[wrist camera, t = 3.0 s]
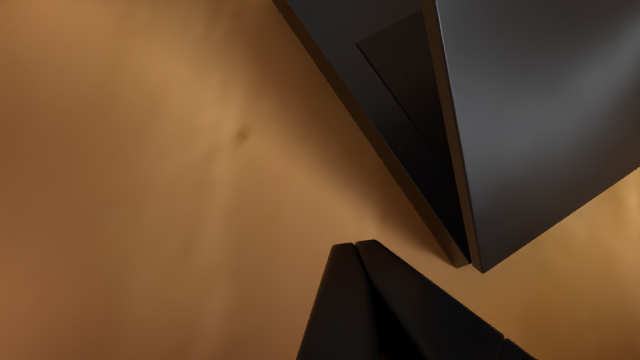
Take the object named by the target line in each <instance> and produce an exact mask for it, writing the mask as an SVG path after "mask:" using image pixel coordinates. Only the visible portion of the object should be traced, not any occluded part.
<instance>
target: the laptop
mask: <svg viewBox="0 0 640 360" xmlns="http://www.w3.org/2000/svg"><path fill="white" fill-rule="evenodd" d="M272 1H273V2H274V4H275V5H276V7H277V8H278V9H279V11H280V12H281V14H282V15H283V17H284V18H285V20H286V21H287V23H288V24H289V25H290V27H291V28H292V30H293V31H294V33H295V34H296V36H297V37H298V39H299V40H300V41H301V43H302V44H303V46H304V47H305V49H306V50H307V52H308V53H309V55H310V56H311V58H312V59H313V60H314V62H315V63H316V65H317V66H318V68H319V69H320V71H321V72H322V74H323V75H324V76H325V78H326V79H327V81H328V82H329V84H330V85H331V87H332V88H333V90H334V91H335V92H336V94H337V95H338V97H339V98H340V100H341V101H342V103H343V104H344V106H345V107H346V109H347V110H348V111H349V113H350V114H351V116H352V117H353V119H354V120H355V122H356V123H357V125H358V126H359V127H360V129H361V130H362V132H363V133H364V135H365V136H366V138H367V139H368V141H369V142H370V143H371V145H372V146H373V148H374V149H375V151H376V152H377V154H378V155H379V157H380V158H381V160H382V161H383V162H384V164H385V165H386V167H387V168H388V170H389V171H390V173H391V174H392V176H393V177H394V178H395V180H396V181H397V183H398V184H399V186H400V187H401V189H402V190H403V192H404V193H405V194H406V196H407V197H408V199H409V200H410V202H411V203H412V205H413V206H414V208H415V209H416V211H417V212H418V213H419V215H420V216H421V218H422V219H423V221H424V222H425V224H426V225H427V227H428V228H429V229H430V231H431V232H432V234H433V235H434V237H435V238H436V240H437V241H438V243H439V244H440V245H441V247H442V248H443V250H444V251H445V253H446V254H447V256H448V257H449V259H450V260H451V262H452V263H453V264H454V266H455V267H456V268H460V267H463V266H466V265H469V264H471V263H472V261H471V256H470V251H469V246H468V240H467V235H466V230H465V225H464V220H463V215H462V210H461V205H460V199H459V194H458V189H457V184H456V179H455V174H454V169H453V164H452V158H451V153H450V148H449V143H448V138H447V133H446V128H445V123H444V117H443V112H442V107H441V102H440V97H439V92H438V87H437V82H436V77H435V71H434V66H433V61H432V56H431V51H430V46H429V41H428V36H427V30H426V25H425V20H424V15H423V10H422V5H421V0H272Z"/></svg>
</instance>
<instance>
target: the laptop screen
mask: <svg viewBox="0 0 640 360" xmlns="http://www.w3.org/2000/svg"><path fill="white" fill-rule="evenodd" d="M421 5H422V10H423V15H424V20H425V25H426V30H427V36H428V41H429V46H430V51H431V56H432V61H433V66H434V71H435V77H436V82H437V87H438V92H439V97H440V102H441V107H442V112H443V117H444V123H445V128H446V133H447V138H448V143H449V148H450V153H451V158H452V164H453V169H454V174H455V179H456V184H457V189H458V194H459V199H460V205H461V210H462V215H463V220H464V225H465V230H466V235H467V240H468V246H469V251H470V256H471V261H472V265H473V266H474V267H475V268H476V269H477V270H479V271H480V272H481V273H483V274H484V273H486V272H487V271H488V270H490V269H491V268H493V267H494V266H496V265H497V264H499V263H500V262H502V261H503V260H504V259H506V258H507V257H509V256H510V255H512V254H513V253H515V252H516V251H518V250H519V249H521V248H522V247H523V246H525V245H526V244H528V243H529V242H531V241H532V240H534V239H535V238H537V237H538V236H539V235H541V234H542V233H544V232H545V231H547V230H548V229H550V228H551V227H553V226H554V225H556V224H557V223H558V222H560V221H561V220H563V219H564V218H566V217H567V216H569V215H570V214H572V213H573V212H574V211H576V210H577V209H579V208H580V207H582V206H583V205H585V204H586V203H588V202H589V201H591V200H592V199H593V198H595V197H596V196H598V195H599V194H601V193H602V192H604V191H605V190H607V189H608V188H609V187H611V186H612V185H614V184H615V183H617V182H618V181H620V180H621V179H623V178H624V177H626V176H627V175H628V174H630V173H631V172H633V171H634V170H636V169H637V168H639V167H640V0H421Z"/></svg>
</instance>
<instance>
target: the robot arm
mask: <svg viewBox="0 0 640 360" xmlns="http://www.w3.org/2000/svg"><path fill="white" fill-rule="evenodd" d="M504 339H505V336H504V335H503V334H502V333H500V332H499V331H498V330H496V329H495V328H494V327H492V326H491V325H490V324H488V323H487V322H486V321H484V320H483V319H482V318H480V317H479V316H477V315H476V314H475V313H473V312H472V311H471V310H469V309H468V308H467V307H465V306H464V305H463V304H461V303H460V302H459V301H457V300H456V299H455V298H453V297H452V296H451V295H449V294H448V293H447V292H445V291H444V290H443V289H441V288H440V287H439V286H437V285H436V284H435V283H433V282H432V281H431V280H429V279H428V278H427V277H425V276H424V275H423V274H421V273H420V272H419V271H417V270H416V269H414V268H413V267H412V266H410V265H409V264H408V263H406V262H405V261H404V260H402V259H401V258H400V257H398V256H397V255H396V254H394V253H393V252H392V251H390V250H389V249H388V248H386V247H385V246H384V245H382V244H381V243H380V242H378V241H377V240H374V239H372V240H365V241H358V242H356V243H355V245H354V244H353V243H343V244H335V245H333V246H332V248H331V251H330V254H329V257H328V260H327V263H326V266H325V270H324V273H323V276H322V279H321V282H320V285H319V288H318V292H317V295H316V298H315V301H314V304H313V307H312V310H311V314H310V317H309V320H308V323H307V326H306V329H305V332H304V335H303V339H302V342H301V345H300V348H299V351H298V354H297V357H296V360H537V359H536V358H535V357H533V356H532V355H530V354H529V353H527V352H526V351H525V350H523V349H522V348H521V347H519V346H518V345H517V344H515V343H514V342H513V341H511V340H510V339H508V338H506V339H505V340H504Z"/></svg>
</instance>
